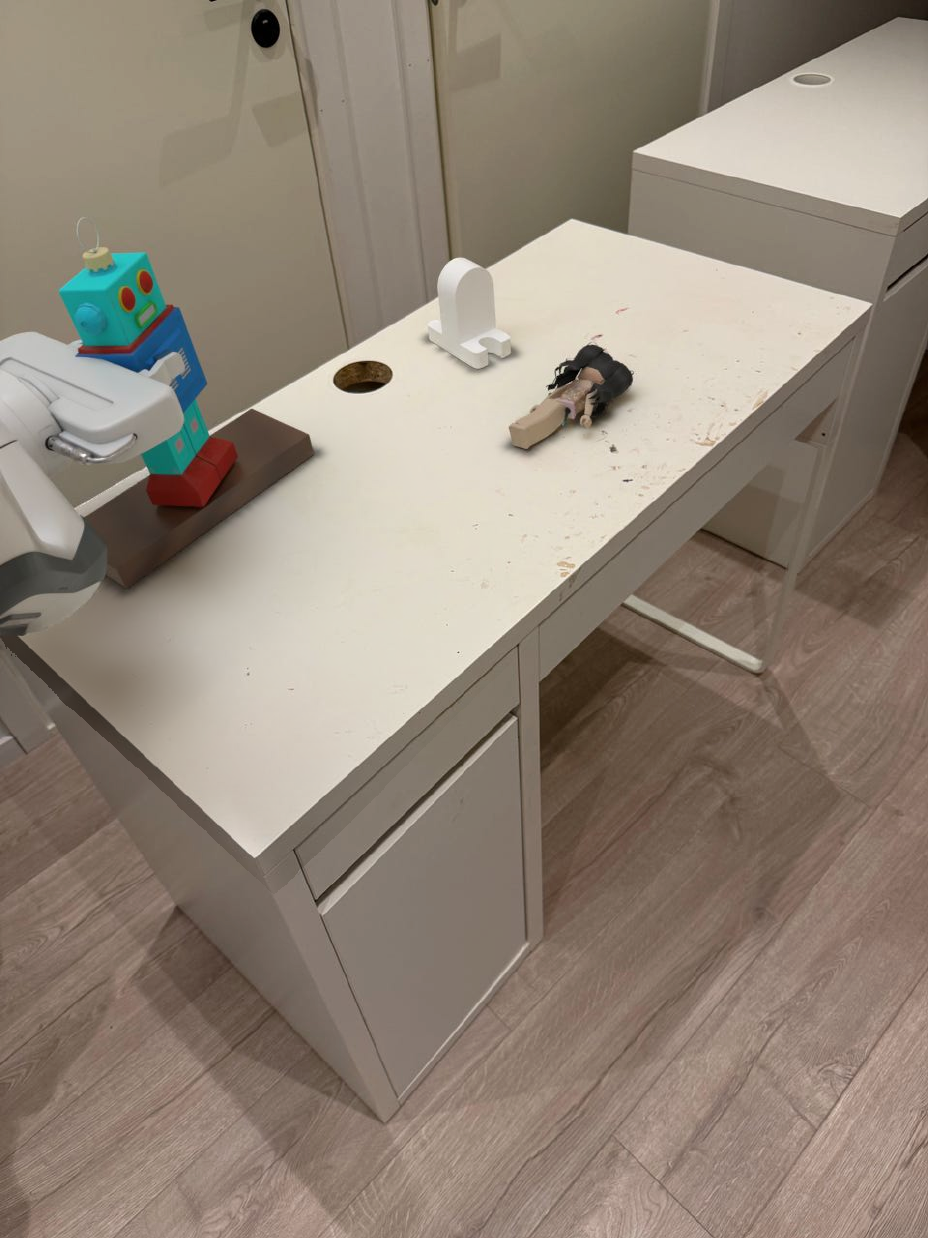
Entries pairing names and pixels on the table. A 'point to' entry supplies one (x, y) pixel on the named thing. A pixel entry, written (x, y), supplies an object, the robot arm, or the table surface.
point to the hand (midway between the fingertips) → (149, 347)
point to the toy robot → (148, 365)
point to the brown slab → (163, 530)
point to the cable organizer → (467, 314)
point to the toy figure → (574, 395)
